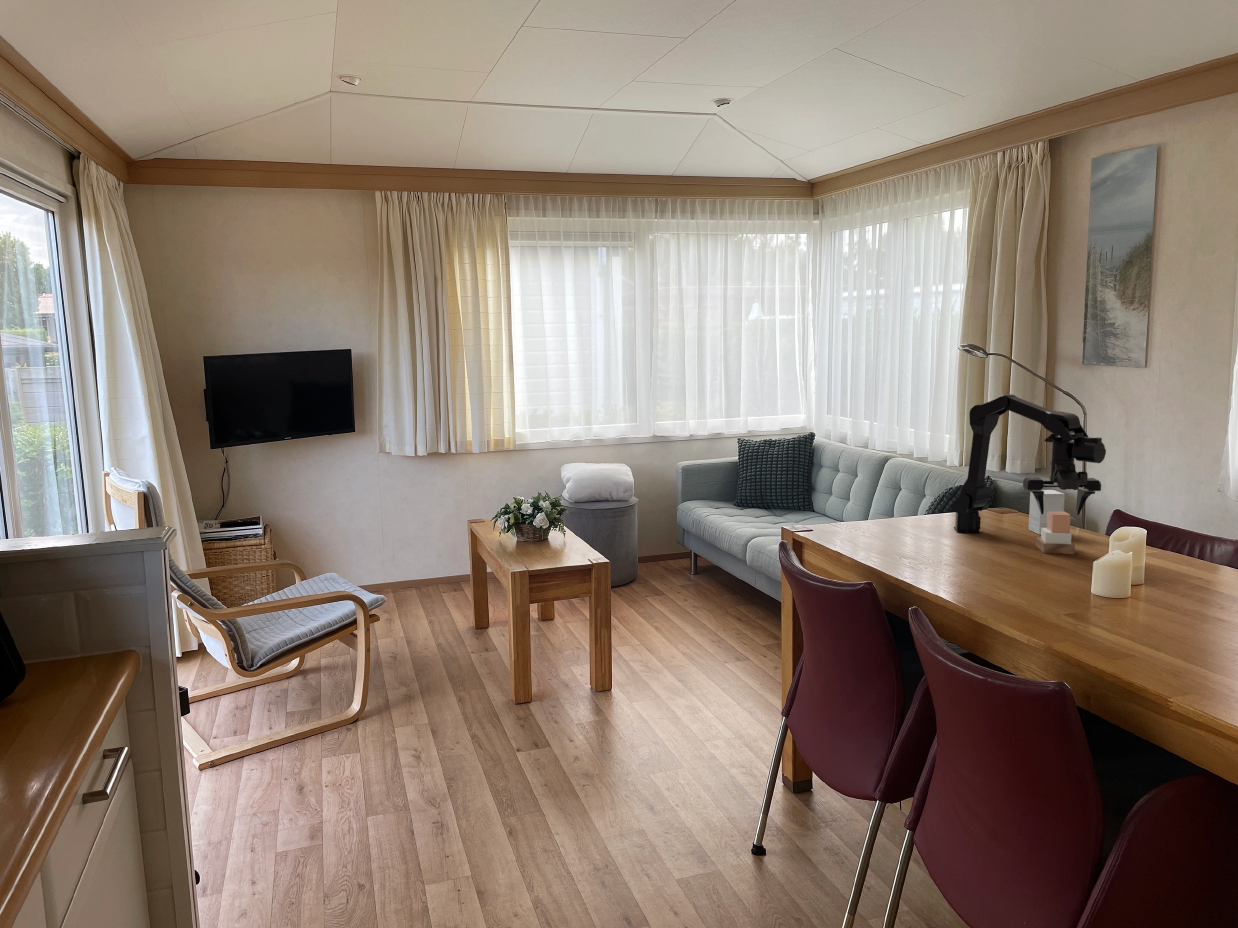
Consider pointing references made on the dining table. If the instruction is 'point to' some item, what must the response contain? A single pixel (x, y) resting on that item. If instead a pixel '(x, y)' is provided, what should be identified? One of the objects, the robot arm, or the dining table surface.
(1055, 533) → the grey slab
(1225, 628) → the dining table surface
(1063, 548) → the walnut slab
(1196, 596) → the dining table surface
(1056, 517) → the terracotta block
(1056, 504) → the supplement box
